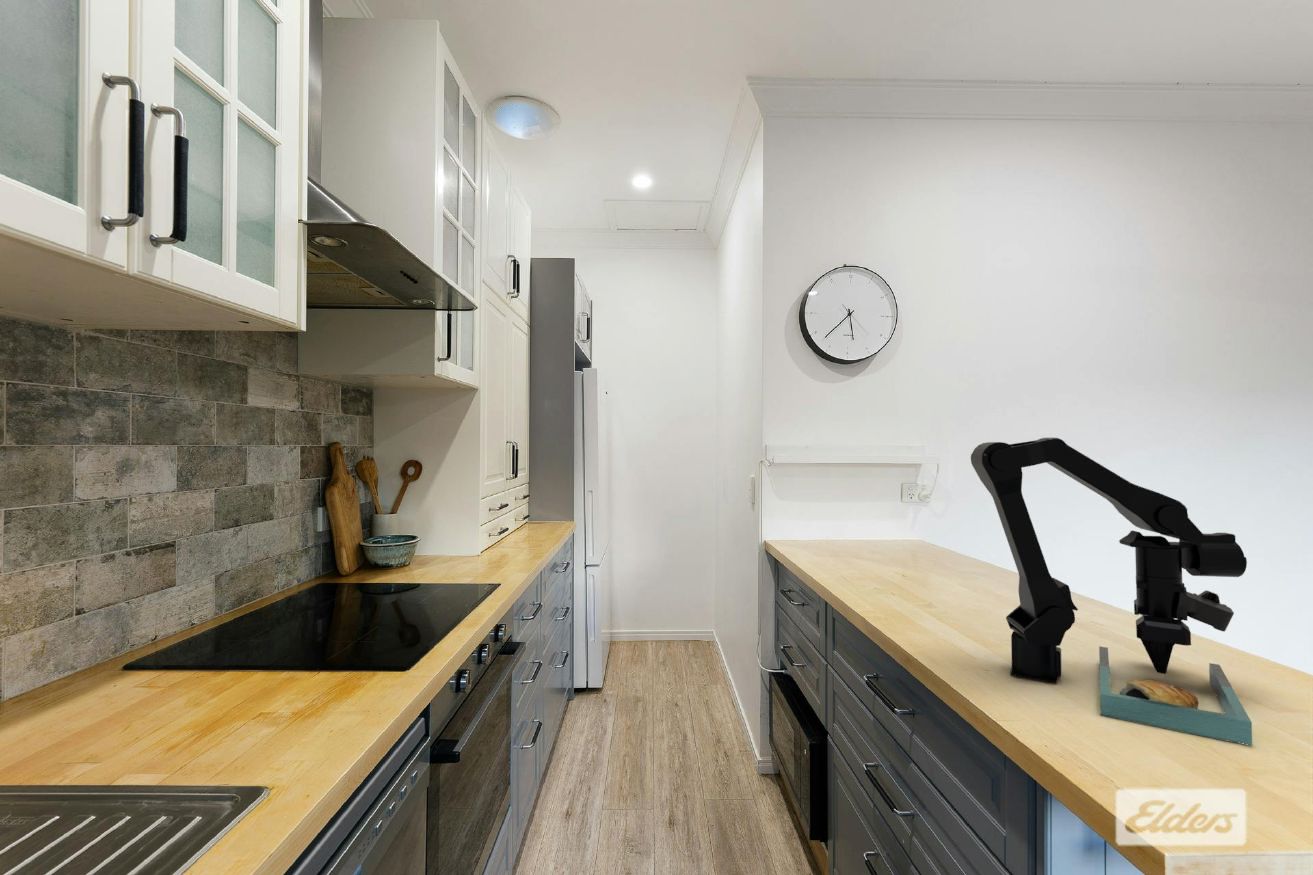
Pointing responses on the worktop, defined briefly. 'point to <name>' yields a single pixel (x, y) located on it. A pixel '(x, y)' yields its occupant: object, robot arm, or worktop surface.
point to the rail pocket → (1180, 709)
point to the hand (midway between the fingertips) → (1161, 672)
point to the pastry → (1160, 693)
